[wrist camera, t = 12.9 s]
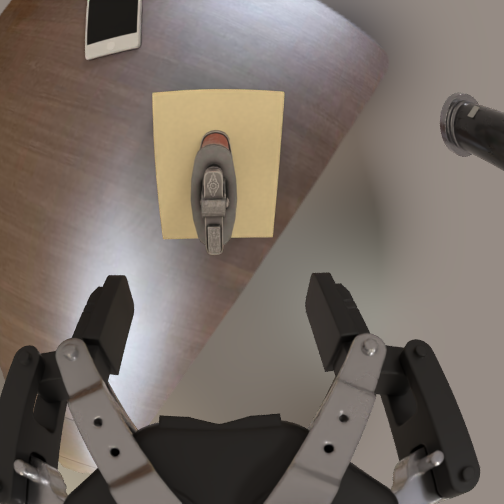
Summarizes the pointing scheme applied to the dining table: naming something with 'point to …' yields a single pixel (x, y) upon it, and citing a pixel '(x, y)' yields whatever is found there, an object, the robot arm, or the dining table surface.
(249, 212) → the lunchbox lid
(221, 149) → the lighter
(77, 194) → the dining table surface
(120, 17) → the smartphone
